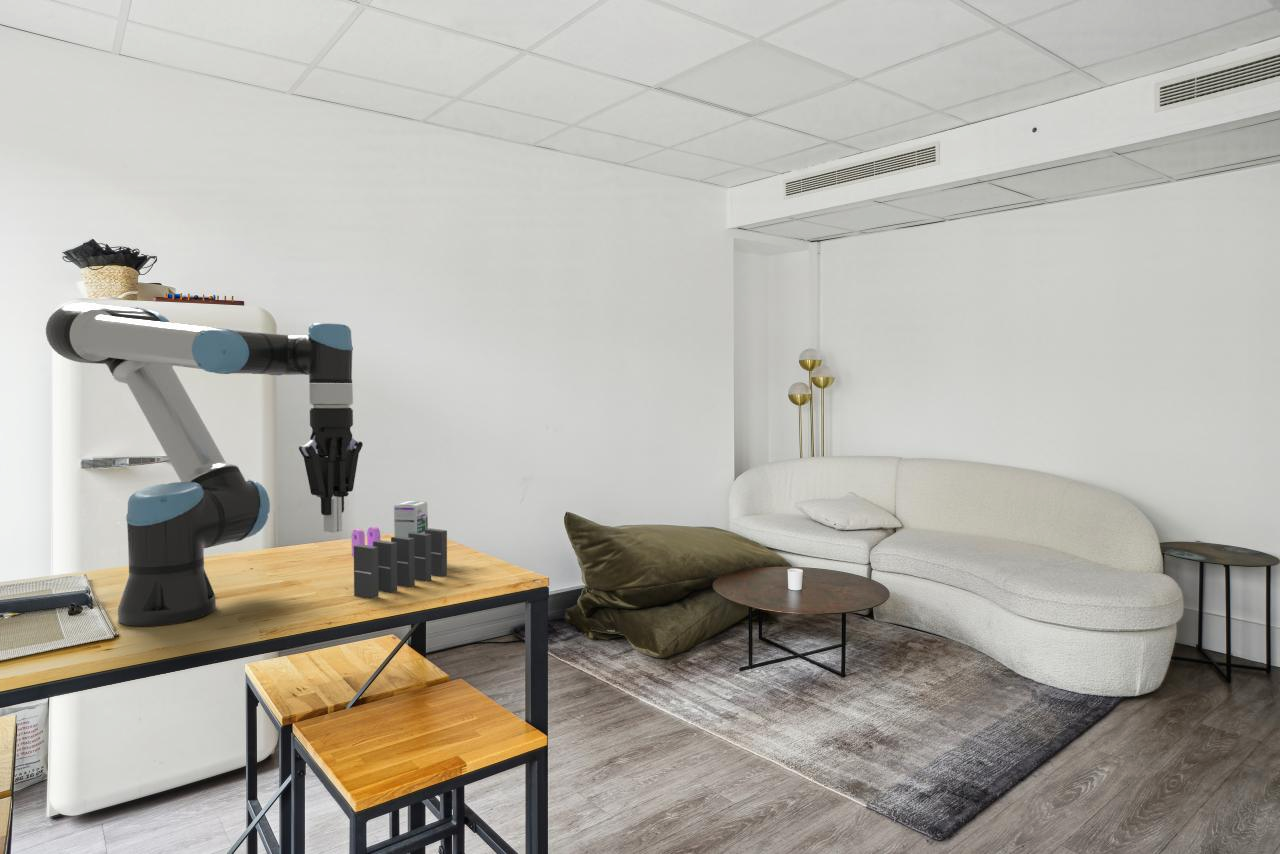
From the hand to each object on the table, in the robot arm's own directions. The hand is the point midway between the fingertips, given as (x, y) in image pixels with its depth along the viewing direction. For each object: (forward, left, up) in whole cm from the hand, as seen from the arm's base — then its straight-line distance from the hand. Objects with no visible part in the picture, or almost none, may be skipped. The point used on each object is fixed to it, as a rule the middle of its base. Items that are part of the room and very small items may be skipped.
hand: (332, 531), depth 144 cm
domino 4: (0, +23, -14) cm, 27 cm away
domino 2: (0, +13, -14) cm, 19 cm away
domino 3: (0, +18, -14) cm, 23 cm away
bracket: (-24, +33, -15) cm, 43 cm away
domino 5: (0, +28, -14) cm, 31 cm away
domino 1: (0, +8, -14) cm, 16 cm away
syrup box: (-12, +33, -15) cm, 38 cm away
